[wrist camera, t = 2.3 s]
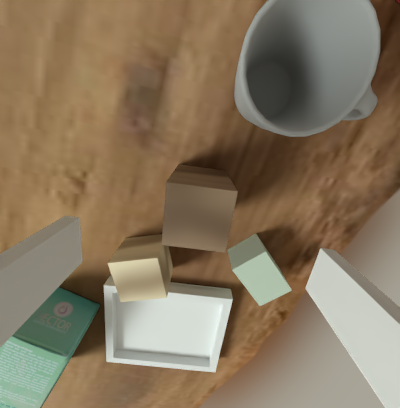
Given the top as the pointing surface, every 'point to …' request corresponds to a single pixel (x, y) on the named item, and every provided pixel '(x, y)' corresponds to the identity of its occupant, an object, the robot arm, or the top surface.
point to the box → (43, 349)
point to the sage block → (257, 270)
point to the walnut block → (198, 208)
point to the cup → (308, 65)
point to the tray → (168, 327)
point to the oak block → (141, 268)
